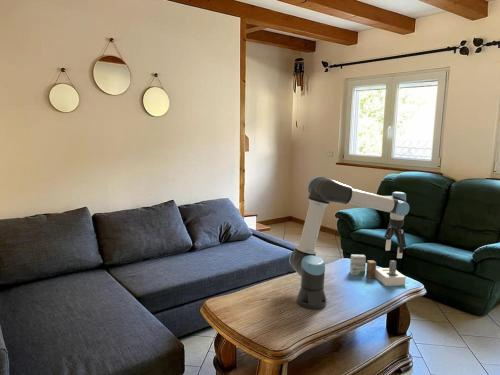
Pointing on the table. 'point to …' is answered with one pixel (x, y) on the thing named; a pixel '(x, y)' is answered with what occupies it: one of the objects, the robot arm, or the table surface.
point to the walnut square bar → (371, 269)
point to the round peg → (392, 268)
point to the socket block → (389, 277)
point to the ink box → (357, 264)
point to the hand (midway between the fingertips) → (393, 254)
